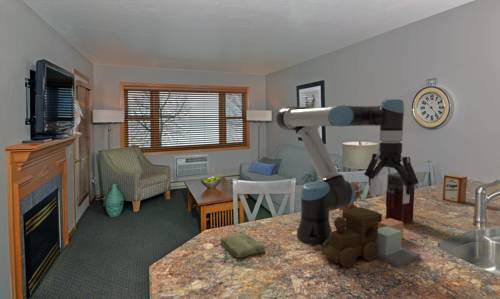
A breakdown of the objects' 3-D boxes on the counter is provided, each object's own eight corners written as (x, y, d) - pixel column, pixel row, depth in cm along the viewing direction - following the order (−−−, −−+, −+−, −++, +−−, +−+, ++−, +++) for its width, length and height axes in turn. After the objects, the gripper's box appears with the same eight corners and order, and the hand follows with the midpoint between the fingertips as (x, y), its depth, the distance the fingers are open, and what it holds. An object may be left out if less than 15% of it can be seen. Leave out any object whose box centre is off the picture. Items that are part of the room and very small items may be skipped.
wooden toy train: (358, 246, 114) (359, 205, 112) (382, 258, 104) (384, 214, 102) (318, 257, 105) (319, 213, 104) (340, 271, 95) (341, 223, 93)
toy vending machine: (382, 219, 144) (384, 164, 142) (396, 215, 150) (398, 163, 147) (399, 225, 137) (401, 167, 134) (413, 221, 142) (415, 165, 139)
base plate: (398, 267, 97) (398, 263, 97) (355, 247, 113) (355, 243, 113) (419, 258, 104) (420, 253, 104) (376, 240, 119) (376, 236, 119)
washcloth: (246, 237, 125) (246, 230, 125) (267, 253, 109) (267, 245, 109) (218, 243, 119) (218, 235, 119) (236, 261, 103) (236, 252, 103)
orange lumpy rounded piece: (356, 219, 145) (357, 184, 144) (335, 215, 152) (336, 181, 150) (363, 213, 154) (364, 180, 152) (342, 209, 161) (343, 178, 159)
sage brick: (385, 254, 103) (386, 235, 103) (371, 248, 108) (372, 230, 108) (400, 248, 108) (401, 231, 107) (386, 243, 113) (387, 226, 112)
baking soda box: (442, 199, 179) (444, 174, 178) (448, 198, 182) (450, 173, 181) (459, 203, 171) (461, 177, 170) (465, 202, 174) (467, 176, 173)
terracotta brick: (389, 242, 117) (390, 226, 117) (376, 237, 123) (377, 221, 122) (402, 238, 122) (403, 222, 121) (389, 233, 127) (390, 218, 126)
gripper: (431, 143, 96) (428, 205, 98) (369, 139, 118) (367, 190, 120) (418, 144, 92) (415, 208, 94) (356, 140, 114) (354, 192, 116)
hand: (388, 198), depth 107 cm, fingers open, 13 cm apart
